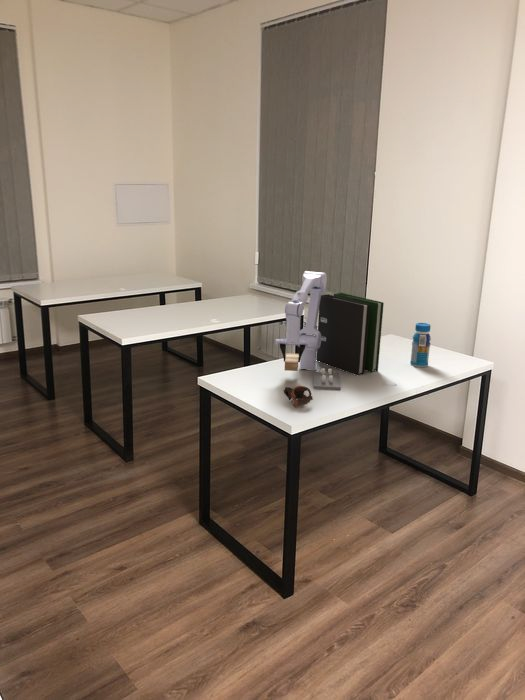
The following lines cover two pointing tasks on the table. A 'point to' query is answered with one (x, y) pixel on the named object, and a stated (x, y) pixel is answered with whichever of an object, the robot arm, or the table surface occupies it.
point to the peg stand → (326, 380)
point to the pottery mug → (298, 395)
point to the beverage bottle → (421, 345)
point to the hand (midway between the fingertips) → (291, 361)
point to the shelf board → (291, 362)
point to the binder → (350, 332)
